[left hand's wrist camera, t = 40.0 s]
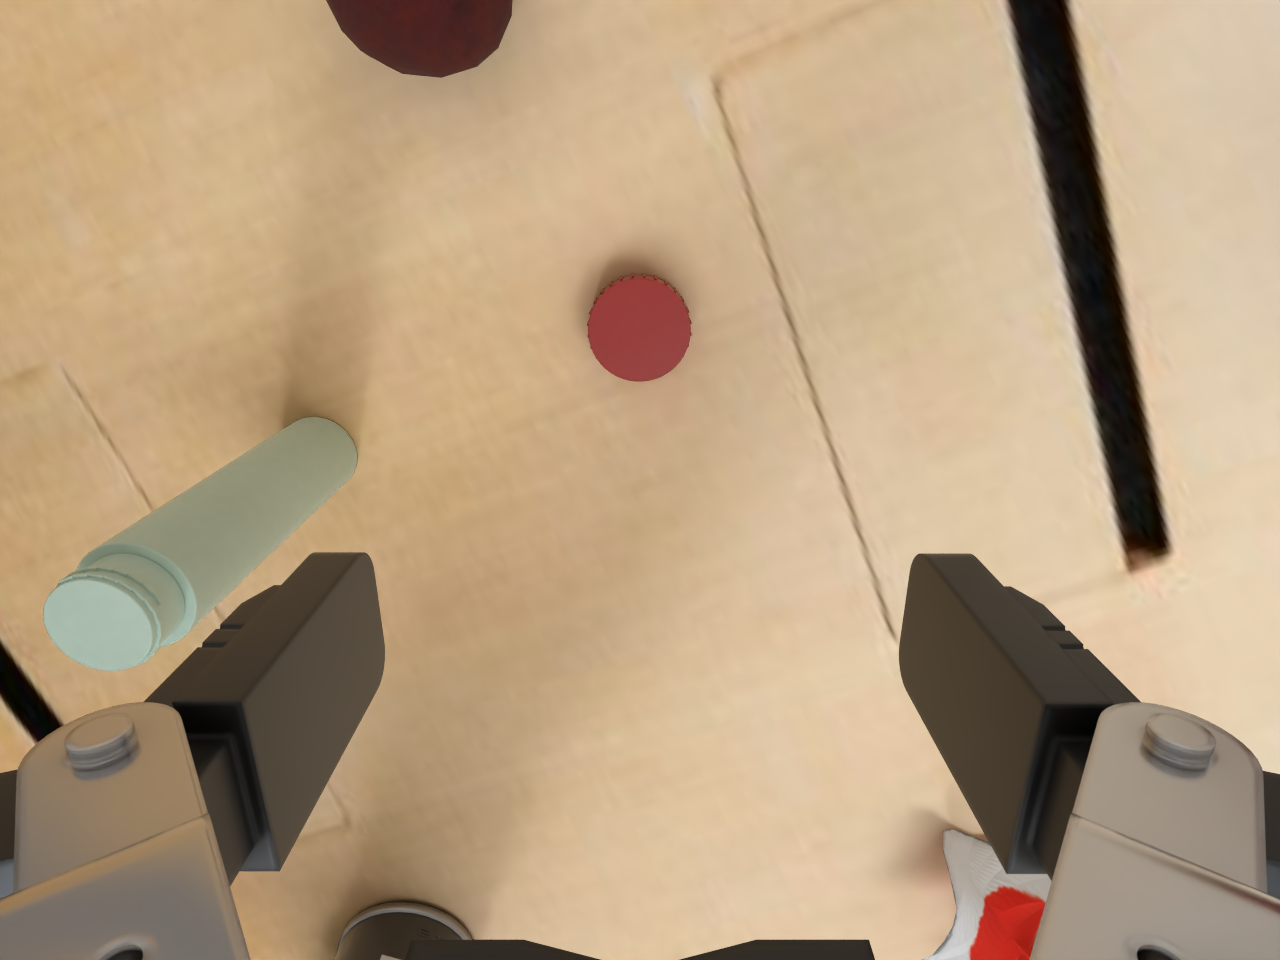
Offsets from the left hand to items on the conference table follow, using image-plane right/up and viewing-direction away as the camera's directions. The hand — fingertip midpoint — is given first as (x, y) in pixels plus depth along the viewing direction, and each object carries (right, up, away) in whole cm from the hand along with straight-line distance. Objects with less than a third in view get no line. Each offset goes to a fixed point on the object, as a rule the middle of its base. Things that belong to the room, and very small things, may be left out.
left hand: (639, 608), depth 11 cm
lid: (0, +9, +24) cm, 26 cm away
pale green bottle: (-17, +3, +28) cm, 33 cm away
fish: (+23, -26, +39) cm, 52 cm away
